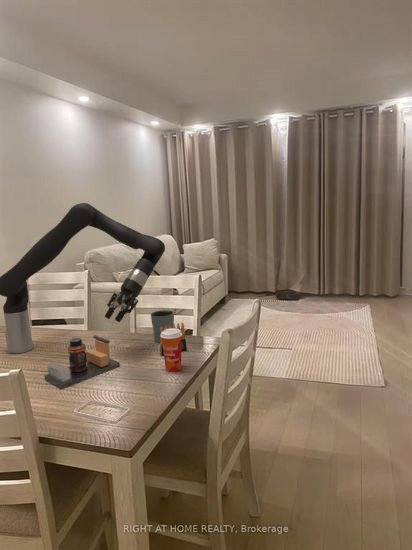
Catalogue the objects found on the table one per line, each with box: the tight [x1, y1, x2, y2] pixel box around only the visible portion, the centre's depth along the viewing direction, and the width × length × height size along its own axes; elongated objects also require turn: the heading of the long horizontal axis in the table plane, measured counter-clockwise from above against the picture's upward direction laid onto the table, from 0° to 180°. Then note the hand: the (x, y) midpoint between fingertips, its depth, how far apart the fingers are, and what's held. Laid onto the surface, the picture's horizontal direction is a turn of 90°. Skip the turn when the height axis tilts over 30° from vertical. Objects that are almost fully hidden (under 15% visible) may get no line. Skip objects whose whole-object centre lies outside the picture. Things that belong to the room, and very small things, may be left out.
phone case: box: [73, 399, 131, 424], centre depth 115 cm, size 7×1×15 cm
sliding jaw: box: [86, 335, 111, 367], centre depth 147 cm, size 5×10×9 cm, turn 47°
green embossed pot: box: [150, 309, 175, 344], centre depth 173 cm, size 10×10×12 cm
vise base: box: [44, 358, 121, 390], centre depth 143 cm, size 23×12×6 cm, turn 137°
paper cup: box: [160, 327, 182, 373], centre depth 142 cm, size 8×8×14 cm
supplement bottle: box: [67, 337, 88, 372], centre depth 141 cm, size 6×6×11 cm
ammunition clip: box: [159, 321, 188, 358], centre depth 157 cm, size 11×2×12 cm, turn 116°
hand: (111, 319), depth 150 cm, fingers open, 6 cm apart
